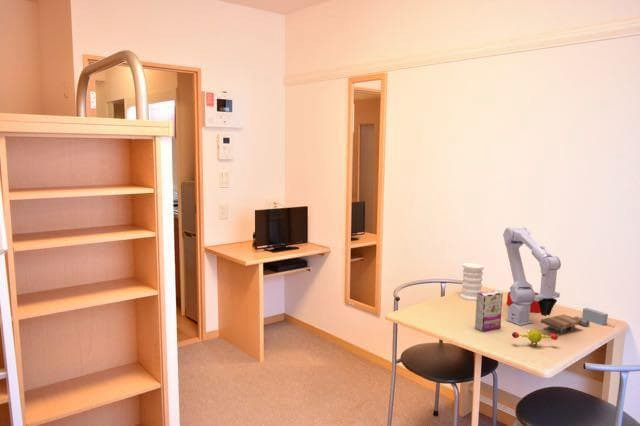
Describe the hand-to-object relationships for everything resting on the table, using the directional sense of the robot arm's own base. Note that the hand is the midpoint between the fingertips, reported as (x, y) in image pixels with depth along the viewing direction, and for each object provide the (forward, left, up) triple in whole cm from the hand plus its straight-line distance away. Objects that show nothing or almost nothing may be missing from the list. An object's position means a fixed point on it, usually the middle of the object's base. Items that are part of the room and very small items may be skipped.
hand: (545, 315), depth 205 cm
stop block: (+37, 0, -8) cm, 38 cm away
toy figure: (-16, -7, -9) cm, 19 cm away
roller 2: (+16, 0, -8) cm, 18 cm away
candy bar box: (-18, +15, -9) cm, 25 cm away
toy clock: (+27, +29, -9) cm, 40 cm away
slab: (+12, 0, -6) cm, 13 cm away
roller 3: (+27, 0, -9) cm, 28 cm away
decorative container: (+11, +52, -9) cm, 54 cm away
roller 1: (+9, 0, -8) cm, 12 cm away
